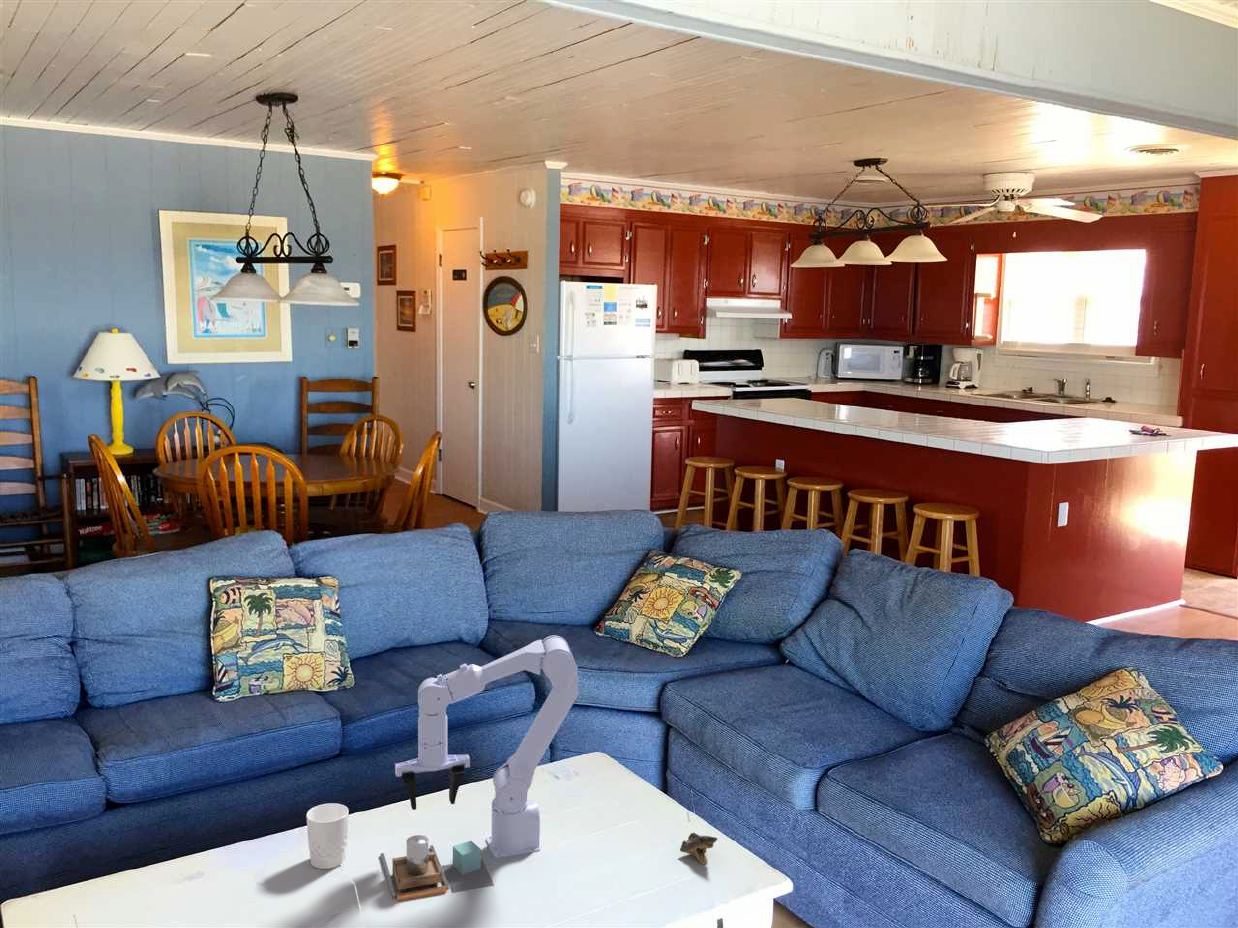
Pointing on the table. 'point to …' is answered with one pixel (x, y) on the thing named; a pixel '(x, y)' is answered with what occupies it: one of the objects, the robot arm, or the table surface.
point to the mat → (467, 878)
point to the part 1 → (417, 855)
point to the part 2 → (466, 857)
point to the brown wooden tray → (413, 881)
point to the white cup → (327, 835)
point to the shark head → (698, 846)
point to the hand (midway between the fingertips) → (432, 804)
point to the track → (420, 892)
